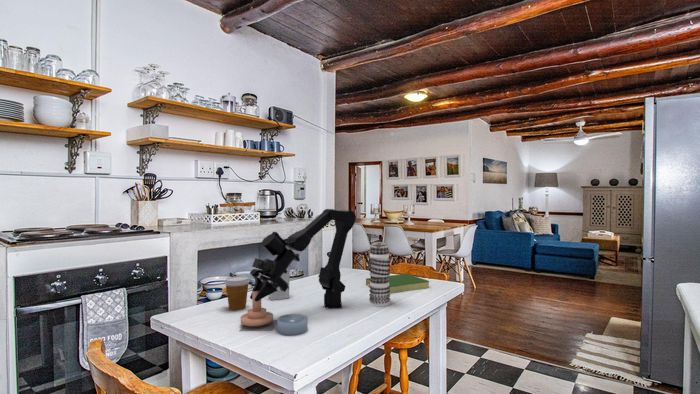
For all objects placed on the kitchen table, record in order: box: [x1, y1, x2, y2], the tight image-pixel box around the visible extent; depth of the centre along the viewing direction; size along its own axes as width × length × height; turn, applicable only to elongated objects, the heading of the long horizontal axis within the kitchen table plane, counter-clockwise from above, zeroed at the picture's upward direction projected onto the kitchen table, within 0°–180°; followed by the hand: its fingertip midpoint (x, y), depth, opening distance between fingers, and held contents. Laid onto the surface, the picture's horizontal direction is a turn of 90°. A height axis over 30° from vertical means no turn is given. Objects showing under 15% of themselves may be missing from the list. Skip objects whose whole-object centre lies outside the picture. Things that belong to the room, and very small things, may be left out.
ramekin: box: [276, 313, 309, 337], centre depth 125 cm, size 10×10×4 cm
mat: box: [239, 318, 278, 332], centre depth 130 cm, size 11×11×1 cm
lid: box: [240, 290, 274, 326], centre depth 131 cm, size 11×11×10 cm
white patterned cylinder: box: [367, 241, 392, 307], centre depth 155 cm, size 9×9×25 cm
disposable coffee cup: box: [224, 275, 251, 311], centre depth 149 cm, size 10×10×12 cm
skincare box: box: [268, 264, 291, 301], centre depth 165 cm, size 8×6×15 cm
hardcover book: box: [365, 273, 430, 294], centre depth 183 cm, size 25×19×4 cm
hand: (253, 299), depth 130 cm, fingers closed on lid, 3 cm apart
